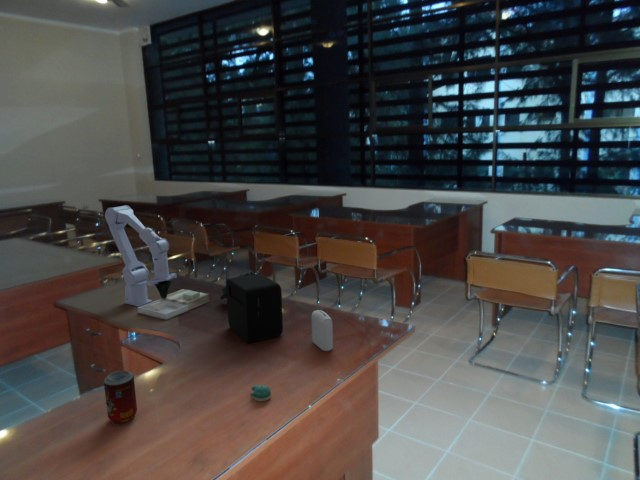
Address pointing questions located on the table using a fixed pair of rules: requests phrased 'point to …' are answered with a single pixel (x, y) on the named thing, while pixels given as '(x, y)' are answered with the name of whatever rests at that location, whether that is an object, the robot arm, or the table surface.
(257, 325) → the air purifier
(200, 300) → the bench board
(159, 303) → the tile cream
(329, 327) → the photo printer
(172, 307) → the box
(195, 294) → the tile sage
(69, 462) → the table surface
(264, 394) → the green domed piece
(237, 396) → the table surface
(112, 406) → the soda can
